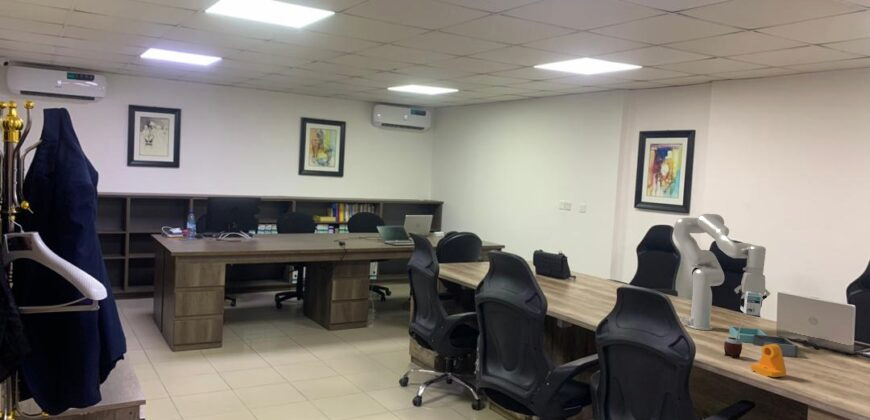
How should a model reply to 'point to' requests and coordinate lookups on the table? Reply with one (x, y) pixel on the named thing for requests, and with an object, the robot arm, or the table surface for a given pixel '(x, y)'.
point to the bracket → (770, 362)
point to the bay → (785, 344)
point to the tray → (745, 333)
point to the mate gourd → (733, 346)
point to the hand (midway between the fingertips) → (750, 307)
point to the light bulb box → (752, 303)
